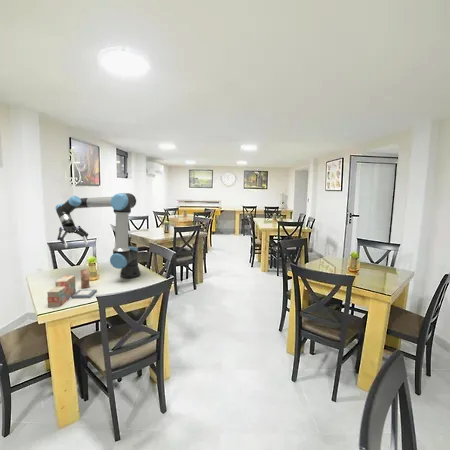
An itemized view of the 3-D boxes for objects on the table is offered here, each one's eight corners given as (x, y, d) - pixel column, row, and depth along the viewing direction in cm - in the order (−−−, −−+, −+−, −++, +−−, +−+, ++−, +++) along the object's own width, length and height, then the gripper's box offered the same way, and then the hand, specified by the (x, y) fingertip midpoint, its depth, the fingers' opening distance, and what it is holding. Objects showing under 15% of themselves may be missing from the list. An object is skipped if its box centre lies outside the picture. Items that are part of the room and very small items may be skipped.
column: (90, 286, 191) (90, 269, 190) (87, 288, 187) (87, 271, 185) (83, 286, 191) (82, 269, 189) (80, 288, 186) (79, 271, 184)
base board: (96, 291, 181) (96, 289, 181) (90, 298, 171) (90, 295, 170) (79, 291, 180) (79, 289, 180) (71, 298, 169) (71, 295, 169)
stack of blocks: (59, 307, 157) (58, 286, 155) (47, 307, 156) (46, 286, 155) (76, 293, 178) (75, 275, 177) (65, 293, 177) (64, 275, 176)
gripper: (83, 224, 211) (93, 246, 203) (46, 226, 192) (56, 251, 184) (86, 217, 207) (96, 240, 199) (49, 220, 188) (58, 244, 180)
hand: (77, 245), depth 192 cm, fingers open, 13 cm apart
